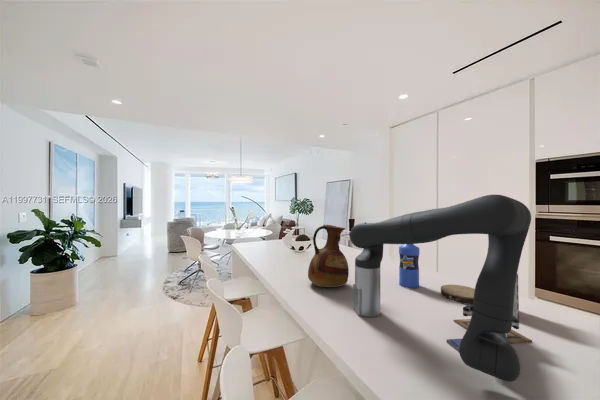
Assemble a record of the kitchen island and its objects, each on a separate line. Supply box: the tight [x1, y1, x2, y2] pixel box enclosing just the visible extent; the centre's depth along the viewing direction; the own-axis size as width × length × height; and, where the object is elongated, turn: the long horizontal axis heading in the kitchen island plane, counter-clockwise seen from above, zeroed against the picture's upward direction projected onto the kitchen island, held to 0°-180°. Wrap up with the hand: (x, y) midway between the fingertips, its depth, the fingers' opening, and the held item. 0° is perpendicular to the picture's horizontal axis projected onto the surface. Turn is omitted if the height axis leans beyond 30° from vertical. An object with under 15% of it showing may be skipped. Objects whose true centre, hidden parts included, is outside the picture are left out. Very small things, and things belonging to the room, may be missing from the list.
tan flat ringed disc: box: [440, 284, 475, 305], centre depth 106 cm, size 16×16×3 cm
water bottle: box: [398, 244, 420, 290], centre depth 120 cm, size 9×9×25 cm
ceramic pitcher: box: [307, 223, 350, 288], centre depth 121 cm, size 20×20×30 cm
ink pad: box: [446, 338, 462, 353], centre depth 66 cm, size 11×11×1 cm
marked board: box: [453, 318, 533, 344], centre depth 78 cm, size 14×14×1 cm
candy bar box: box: [513, 273, 520, 321], centre depth 91 cm, size 11×5×16 cm, turn 148°
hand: (489, 307), depth 80 cm, fingers closed on cork, 3 cm apart
